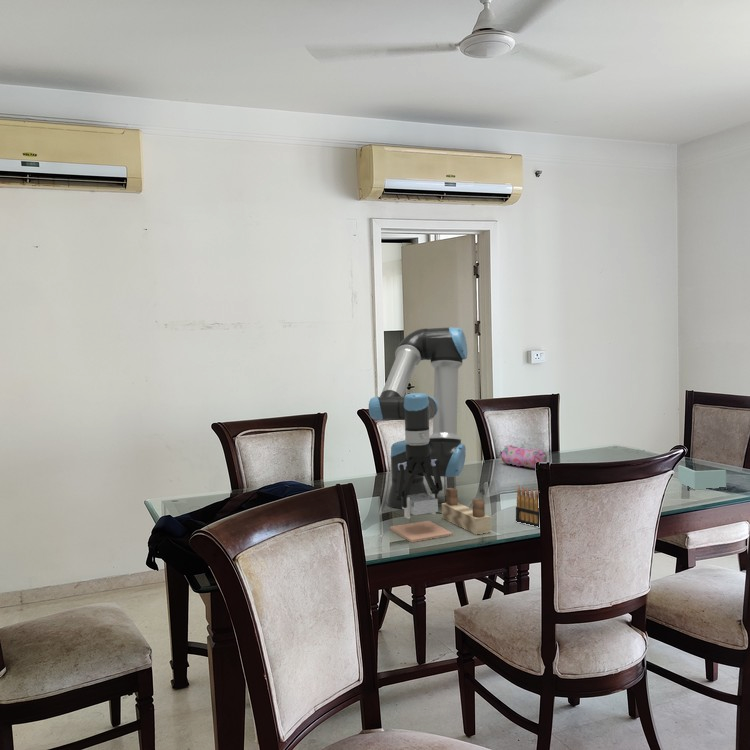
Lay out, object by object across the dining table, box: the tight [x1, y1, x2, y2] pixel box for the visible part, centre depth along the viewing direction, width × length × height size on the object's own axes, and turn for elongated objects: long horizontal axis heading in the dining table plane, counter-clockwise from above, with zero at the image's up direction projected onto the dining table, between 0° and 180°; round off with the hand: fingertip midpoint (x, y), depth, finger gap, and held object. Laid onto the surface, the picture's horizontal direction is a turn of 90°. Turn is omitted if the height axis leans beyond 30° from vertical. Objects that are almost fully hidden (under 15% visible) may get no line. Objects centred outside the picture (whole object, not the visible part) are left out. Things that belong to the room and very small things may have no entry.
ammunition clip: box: [515, 485, 539, 527], centre depth 218 cm, size 11×2×12 cm, turn 38°
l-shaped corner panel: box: [677, 464, 727, 489], centre depth 259 cm, size 12×12×8 cm
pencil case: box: [499, 445, 548, 470], centre depth 309 cm, size 21×9×9 cm, turn 35°
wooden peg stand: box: [441, 487, 491, 536], centre depth 220 cm, size 22×5×10 cm, turn 23°
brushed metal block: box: [401, 493, 439, 516], centre depth 214 cm, size 9×8×4 cm
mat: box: [389, 520, 454, 543], centre depth 214 cm, size 16×14×1 cm
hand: (420, 515), depth 214 cm, fingers closed on brushed metal block, 8 cm apart
